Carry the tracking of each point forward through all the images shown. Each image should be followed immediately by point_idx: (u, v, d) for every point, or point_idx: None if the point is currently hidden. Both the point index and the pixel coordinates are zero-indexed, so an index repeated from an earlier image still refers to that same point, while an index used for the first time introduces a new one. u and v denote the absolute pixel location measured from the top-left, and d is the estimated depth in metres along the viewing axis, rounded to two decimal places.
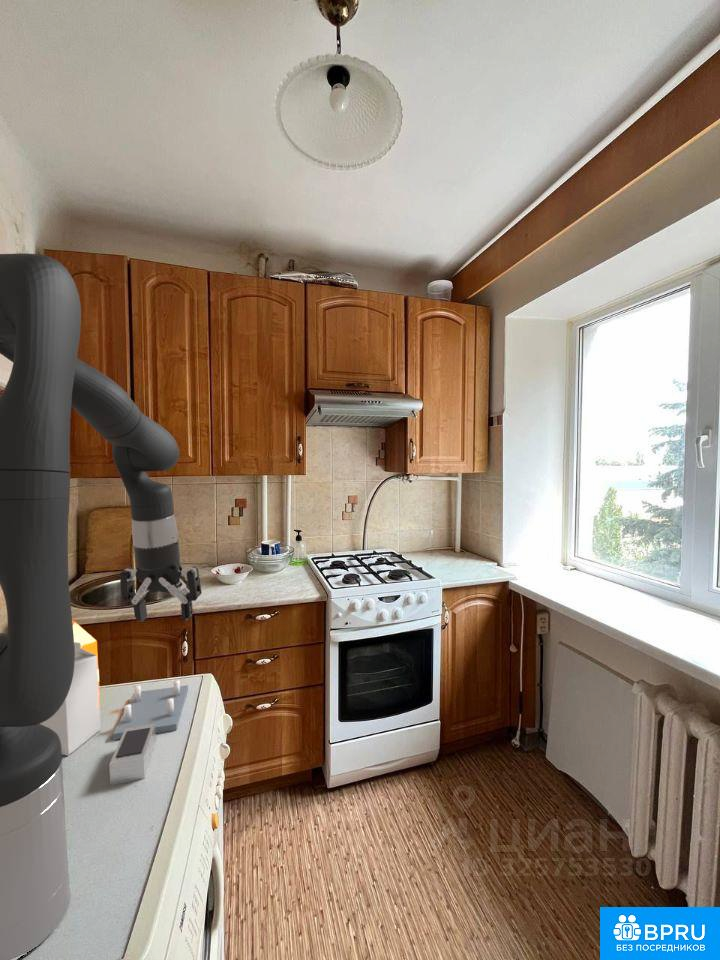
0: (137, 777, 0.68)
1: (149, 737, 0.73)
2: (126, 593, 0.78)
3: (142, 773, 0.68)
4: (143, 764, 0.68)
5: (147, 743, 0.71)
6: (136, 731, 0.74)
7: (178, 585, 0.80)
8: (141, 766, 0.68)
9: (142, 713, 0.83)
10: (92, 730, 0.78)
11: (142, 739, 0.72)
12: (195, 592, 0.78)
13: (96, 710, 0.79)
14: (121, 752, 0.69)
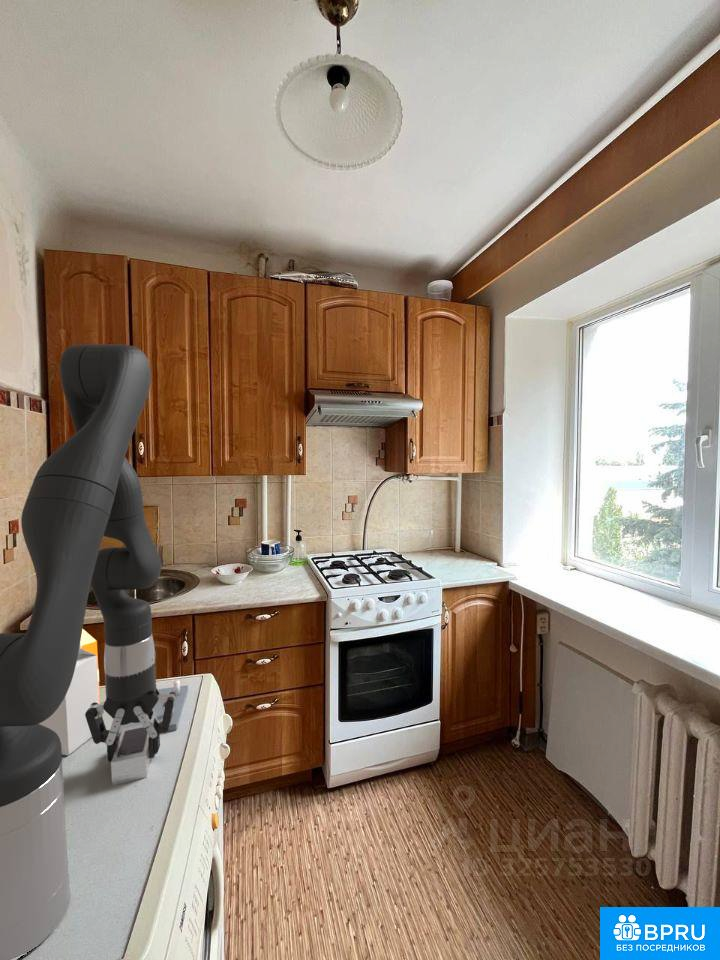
0: (139, 775, 0.68)
1: None
2: (98, 733, 0.69)
3: (144, 771, 0.68)
4: (145, 762, 0.68)
5: (147, 741, 0.71)
6: (135, 730, 0.74)
7: None
8: (143, 763, 0.68)
9: None
10: None
11: (142, 737, 0.72)
12: (168, 723, 0.72)
13: None
14: (122, 751, 0.69)
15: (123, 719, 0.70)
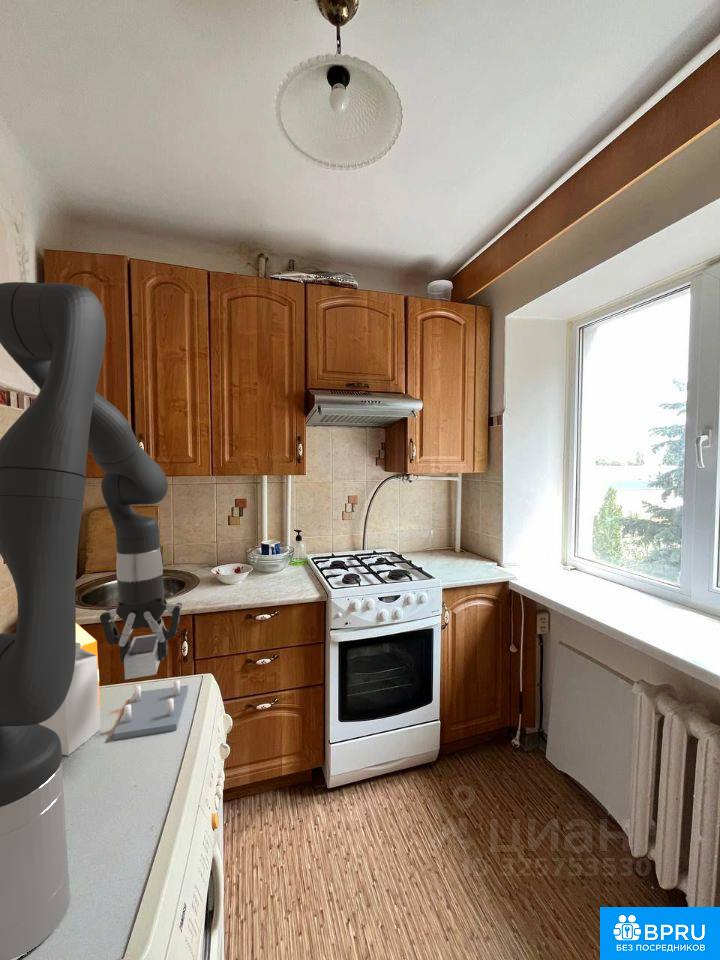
0: (149, 672, 0.75)
1: (157, 641, 0.80)
2: (111, 635, 0.76)
3: (154, 668, 0.75)
4: (154, 660, 0.75)
5: (156, 645, 0.78)
6: (145, 638, 0.81)
7: (156, 621, 0.80)
8: (153, 661, 0.75)
9: (142, 713, 0.83)
10: (92, 730, 0.78)
11: (151, 642, 0.79)
12: (175, 629, 0.78)
13: (96, 710, 0.79)
14: (133, 651, 0.76)
15: (134, 623, 0.77)
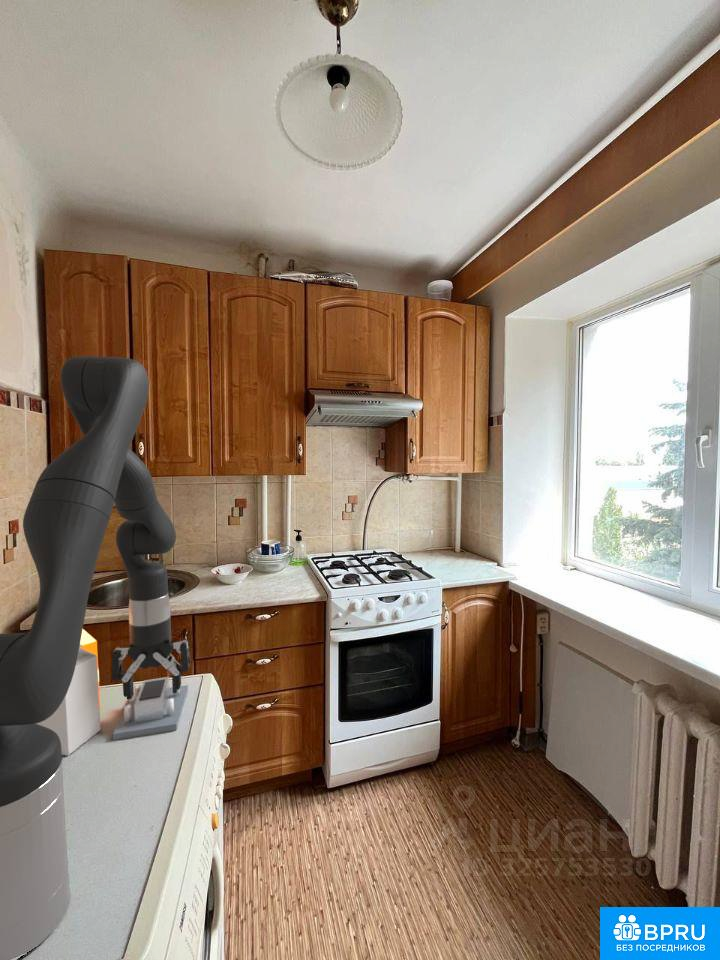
0: (157, 716, 0.81)
1: (165, 686, 0.86)
2: (117, 672, 0.82)
3: (161, 712, 0.82)
4: (162, 705, 0.82)
5: (164, 690, 0.85)
6: (153, 682, 0.88)
7: (167, 658, 0.87)
8: (160, 706, 0.82)
9: None
10: (92, 730, 0.78)
11: (159, 687, 0.86)
12: (187, 663, 0.85)
13: (96, 710, 0.79)
14: (143, 696, 0.82)
15: (141, 664, 0.83)
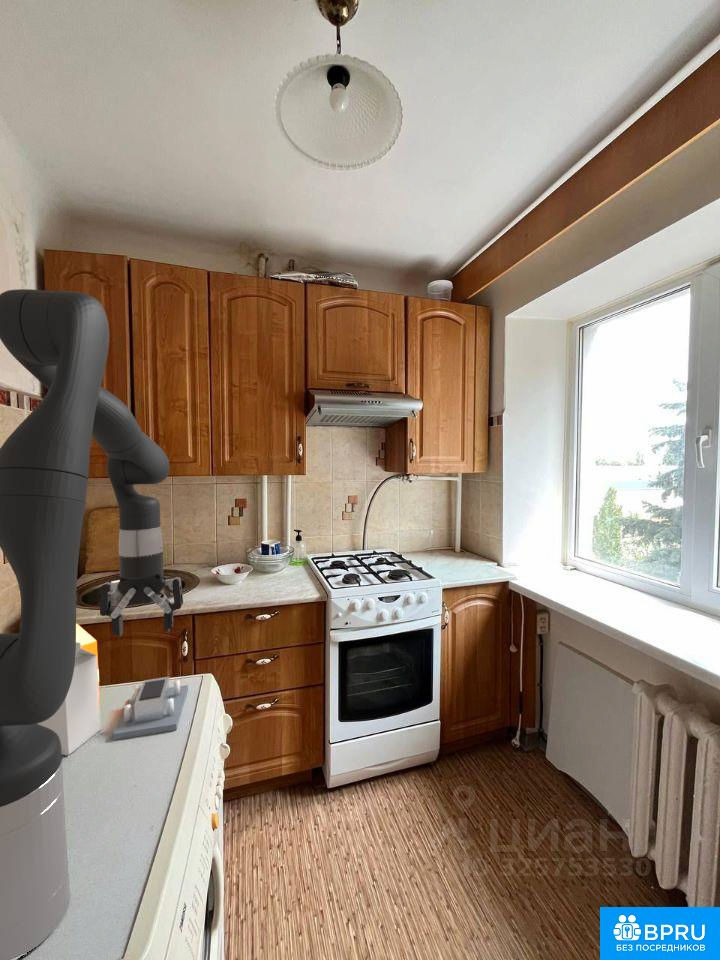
0: (157, 716, 0.81)
1: (165, 686, 0.86)
2: (106, 607, 0.78)
3: (161, 712, 0.82)
4: (162, 705, 0.82)
5: (164, 690, 0.85)
6: (153, 682, 0.88)
7: (159, 597, 0.83)
8: (160, 706, 0.82)
9: None
10: (92, 730, 0.78)
11: (159, 687, 0.86)
12: (180, 600, 0.82)
13: (96, 710, 0.79)
14: (143, 696, 0.82)
15: (131, 599, 0.80)
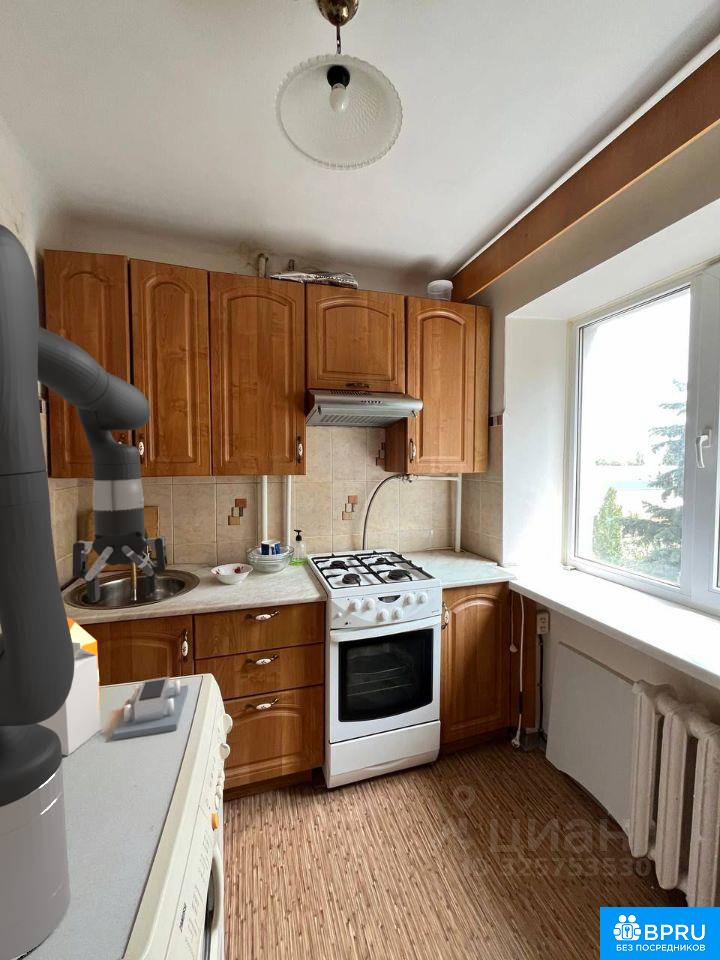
0: (157, 716, 0.81)
1: (165, 686, 0.86)
2: (79, 568, 0.70)
3: (161, 712, 0.82)
4: (162, 705, 0.82)
5: (164, 690, 0.85)
6: (153, 682, 0.88)
7: None
8: (160, 706, 0.82)
9: None
10: (92, 730, 0.78)
11: (159, 687, 0.86)
12: (163, 562, 0.73)
13: (96, 710, 0.79)
14: (143, 696, 0.82)
15: (108, 559, 0.71)
